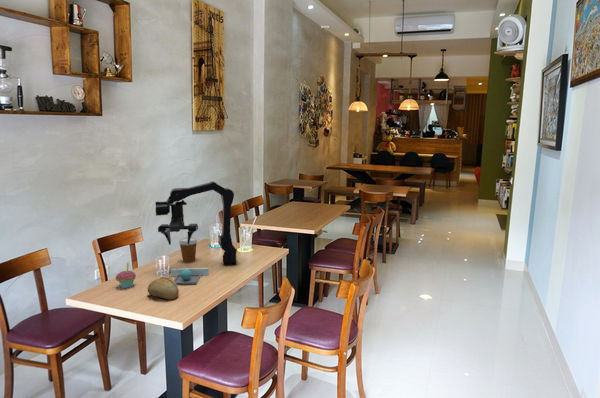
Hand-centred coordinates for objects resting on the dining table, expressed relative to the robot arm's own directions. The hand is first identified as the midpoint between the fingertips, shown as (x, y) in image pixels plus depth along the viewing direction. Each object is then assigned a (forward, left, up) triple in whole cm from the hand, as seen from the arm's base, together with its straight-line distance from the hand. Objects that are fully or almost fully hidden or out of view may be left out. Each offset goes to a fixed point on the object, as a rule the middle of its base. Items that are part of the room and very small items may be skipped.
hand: (179, 244), depth 225 cm
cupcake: (+19, +23, -13) cm, 33 cm away
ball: (-7, +17, -10) cm, 21 cm away
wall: (-7, +10, -13) cm, 18 cm away
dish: (-7, +17, -13) cm, 23 cm away
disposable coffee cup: (-1, -14, -13) cm, 19 cm away
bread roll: (-2, +36, -13) cm, 38 cm away
